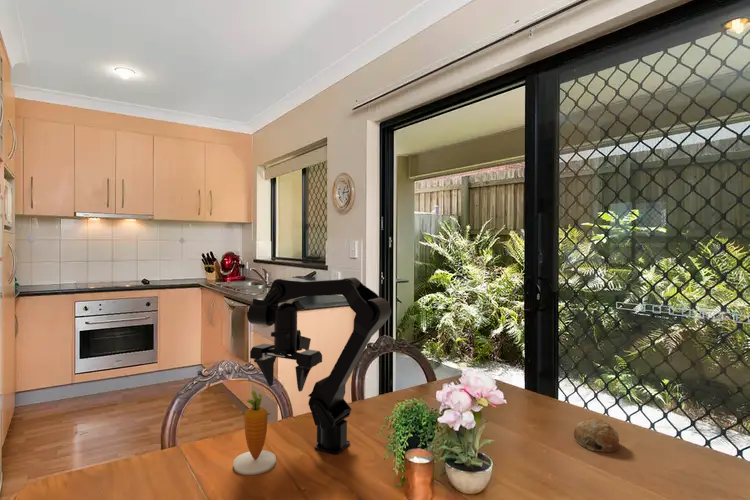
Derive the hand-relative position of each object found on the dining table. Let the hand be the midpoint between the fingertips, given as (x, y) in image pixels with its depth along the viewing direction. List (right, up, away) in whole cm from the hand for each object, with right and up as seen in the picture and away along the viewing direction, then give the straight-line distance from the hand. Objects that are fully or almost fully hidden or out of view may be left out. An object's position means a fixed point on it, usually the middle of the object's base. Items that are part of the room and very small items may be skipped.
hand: (285, 388), depth 112 cm
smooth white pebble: (-4, -12, -15) cm, 19 cm away
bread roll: (+78, -13, -3) cm, 79 cm away
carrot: (-4, -11, -15) cm, 19 cm away
